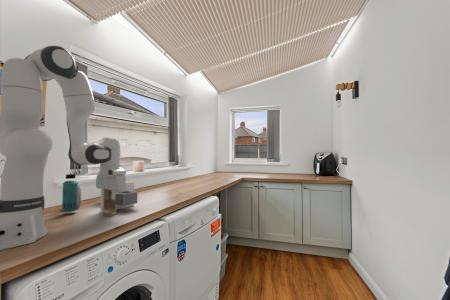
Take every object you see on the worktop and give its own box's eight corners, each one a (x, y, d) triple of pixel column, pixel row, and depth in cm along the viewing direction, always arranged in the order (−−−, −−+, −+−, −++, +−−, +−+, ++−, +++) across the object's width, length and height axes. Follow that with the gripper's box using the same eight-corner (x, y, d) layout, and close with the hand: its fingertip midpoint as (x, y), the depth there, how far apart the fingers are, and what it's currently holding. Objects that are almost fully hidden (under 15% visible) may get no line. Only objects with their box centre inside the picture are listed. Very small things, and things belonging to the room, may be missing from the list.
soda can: (72, 210, 115) (72, 187, 115) (61, 209, 116) (62, 187, 116) (83, 207, 121) (84, 186, 122) (73, 206, 123) (73, 185, 123)
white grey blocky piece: (113, 215, 105) (114, 186, 105) (100, 211, 111) (101, 184, 111) (144, 207, 120) (144, 182, 121) (131, 205, 126) (131, 181, 127)
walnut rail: (107, 216, 102) (108, 183, 103) (103, 215, 104) (104, 182, 105) (115, 214, 106) (115, 182, 106) (111, 213, 108) (111, 181, 108)
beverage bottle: (70, 211, 112) (71, 173, 112) (80, 212, 110) (81, 173, 111) (58, 214, 105) (59, 174, 106) (69, 215, 104) (70, 174, 105)
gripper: (92, 170, 108) (92, 197, 108) (115, 171, 98) (115, 202, 97) (105, 169, 114) (104, 195, 113) (128, 171, 103) (128, 199, 103)
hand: (109, 198), depth 105 cm, fingers closed on walnut rail, 4 cm apart
